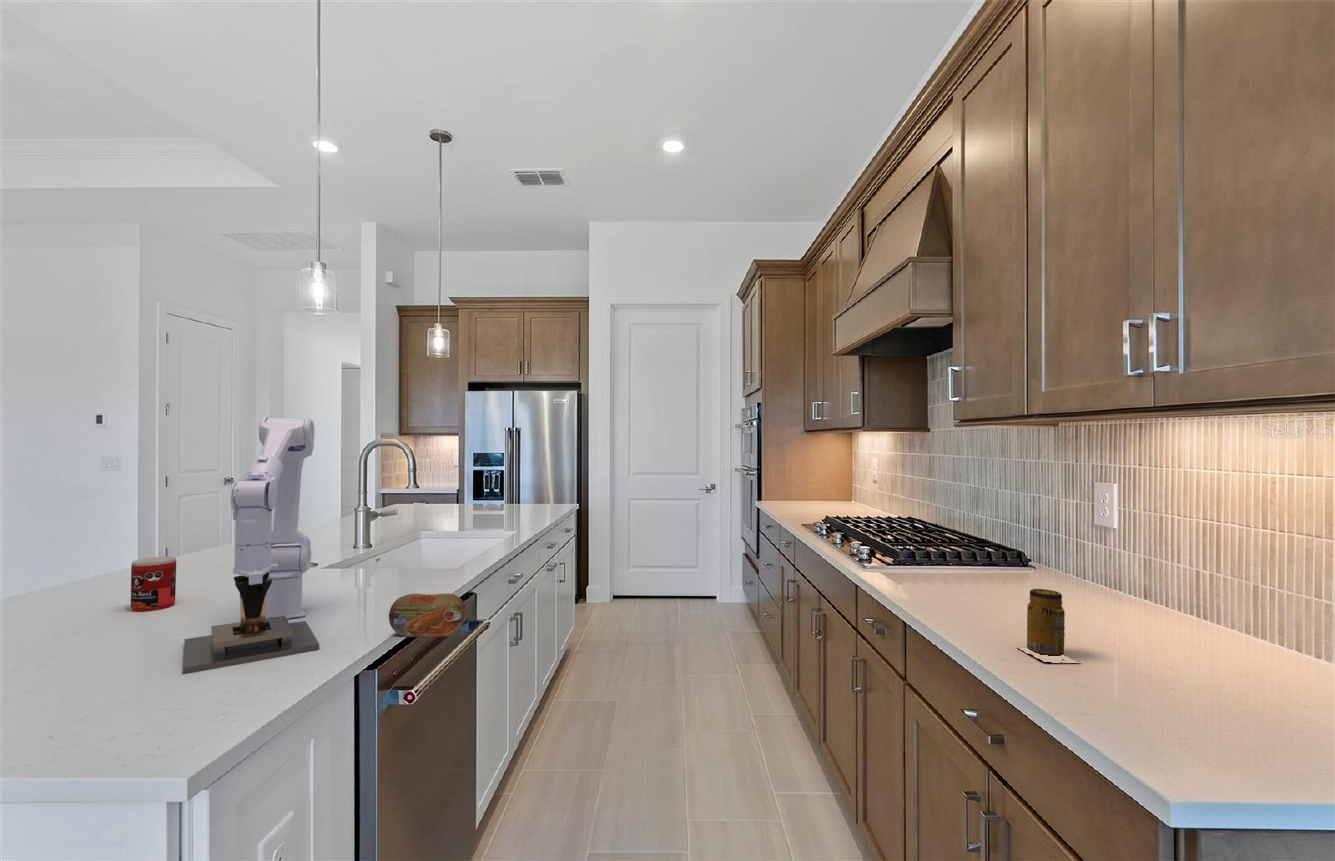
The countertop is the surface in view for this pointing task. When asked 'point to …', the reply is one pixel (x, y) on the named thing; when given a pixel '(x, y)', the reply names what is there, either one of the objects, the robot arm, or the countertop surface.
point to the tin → (427, 615)
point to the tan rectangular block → (252, 620)
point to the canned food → (153, 583)
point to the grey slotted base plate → (247, 644)
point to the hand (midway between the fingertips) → (251, 615)
